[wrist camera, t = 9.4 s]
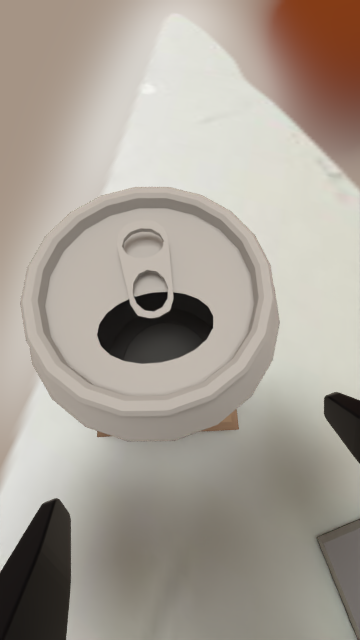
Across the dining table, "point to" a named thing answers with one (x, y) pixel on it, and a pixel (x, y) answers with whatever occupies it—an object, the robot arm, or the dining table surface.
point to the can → (150, 313)
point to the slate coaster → (345, 566)
